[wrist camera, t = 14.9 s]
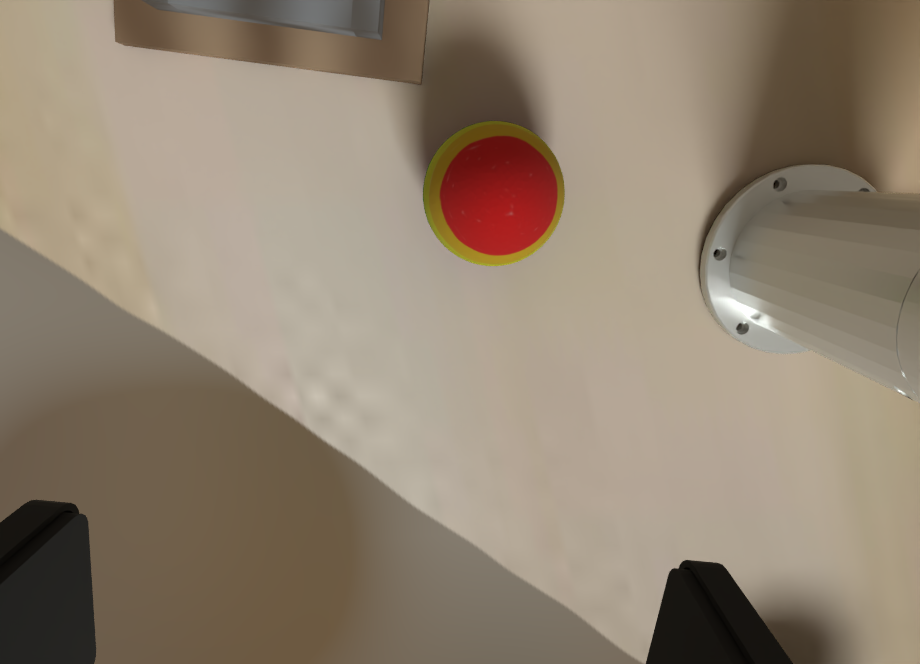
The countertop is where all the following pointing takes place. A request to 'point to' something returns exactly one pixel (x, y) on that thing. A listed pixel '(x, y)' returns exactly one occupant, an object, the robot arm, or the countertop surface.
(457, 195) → the decorative egg
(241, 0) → the square framed tray
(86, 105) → the countertop surface
